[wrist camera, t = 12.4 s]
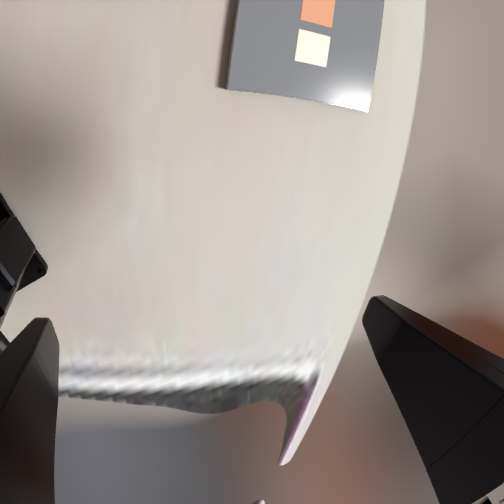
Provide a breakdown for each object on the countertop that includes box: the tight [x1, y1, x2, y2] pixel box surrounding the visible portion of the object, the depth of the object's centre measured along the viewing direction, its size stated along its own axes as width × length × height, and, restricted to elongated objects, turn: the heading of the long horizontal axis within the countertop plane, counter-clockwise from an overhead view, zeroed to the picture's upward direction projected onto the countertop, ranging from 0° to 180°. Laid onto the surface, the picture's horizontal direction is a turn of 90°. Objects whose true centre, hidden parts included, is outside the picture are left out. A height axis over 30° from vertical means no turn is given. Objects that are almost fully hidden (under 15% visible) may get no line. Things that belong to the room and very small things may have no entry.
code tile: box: [226, 0, 384, 112], centre depth 15 cm, size 9×9×1 cm
